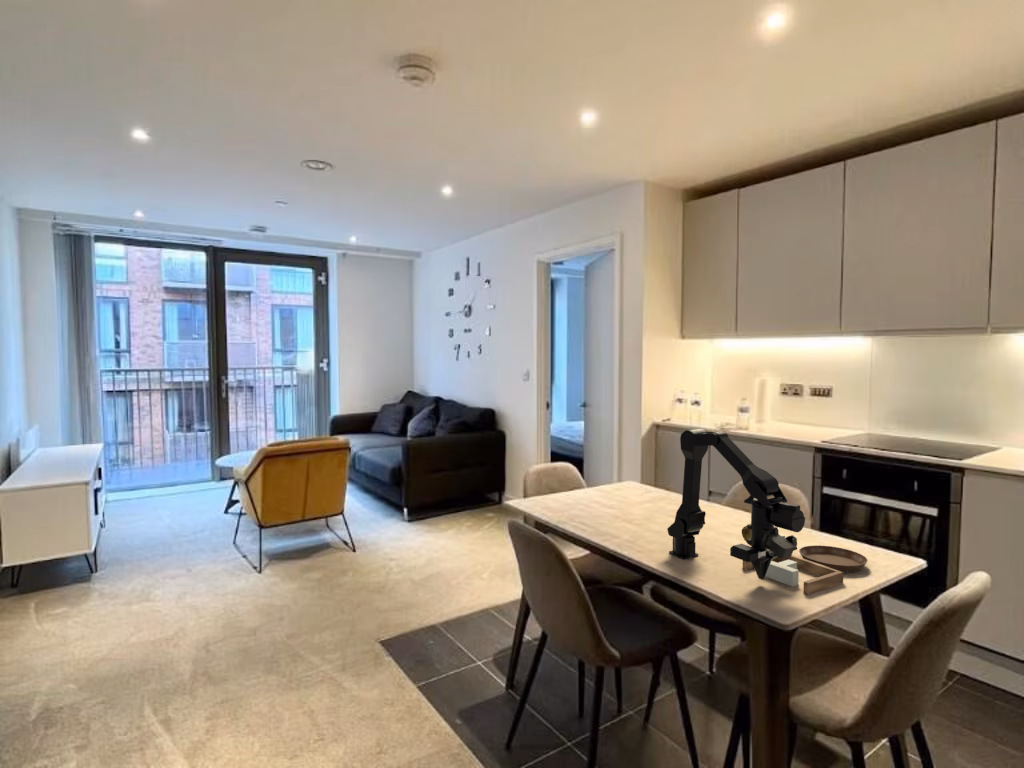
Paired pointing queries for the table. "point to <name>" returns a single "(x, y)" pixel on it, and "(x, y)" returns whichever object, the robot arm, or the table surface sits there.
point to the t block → (784, 572)
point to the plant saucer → (834, 557)
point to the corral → (826, 574)
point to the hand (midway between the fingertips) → (761, 578)
